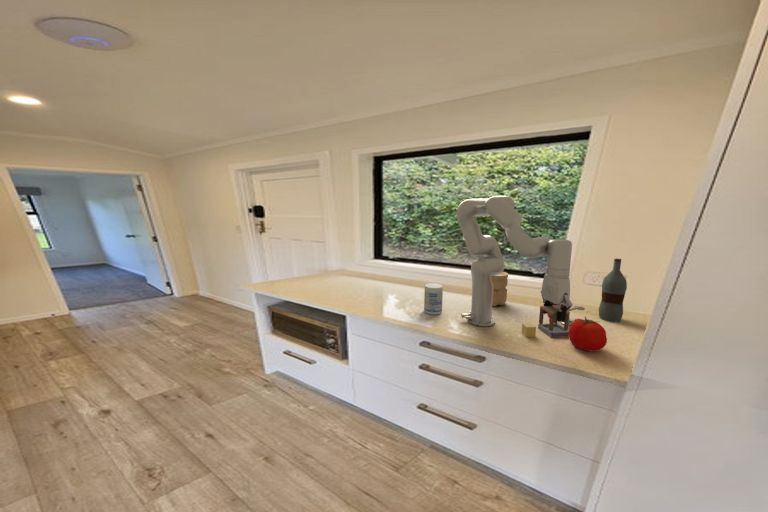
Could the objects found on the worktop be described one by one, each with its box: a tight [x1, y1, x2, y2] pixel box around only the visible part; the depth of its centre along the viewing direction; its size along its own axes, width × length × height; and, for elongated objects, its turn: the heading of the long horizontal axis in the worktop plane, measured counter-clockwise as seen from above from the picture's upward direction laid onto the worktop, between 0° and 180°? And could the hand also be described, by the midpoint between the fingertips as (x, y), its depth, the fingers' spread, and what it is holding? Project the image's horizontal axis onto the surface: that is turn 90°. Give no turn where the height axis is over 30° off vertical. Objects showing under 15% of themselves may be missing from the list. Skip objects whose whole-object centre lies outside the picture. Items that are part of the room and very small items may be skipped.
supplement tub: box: [423, 282, 444, 316], centre depth 148 cm, size 10×10×15 cm
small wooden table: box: [538, 305, 571, 331], centre depth 108 cm, size 7×7×7 cm
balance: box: [560, 305, 585, 327], centre depth 131 cm, size 16×4×8 cm, turn 95°
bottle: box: [598, 258, 628, 323], centre depth 134 cm, size 9×9×30 cm
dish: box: [537, 322, 569, 338], centre depth 124 cm, size 9×9×2 cm
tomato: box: [568, 316, 608, 352], centre depth 109 cm, size 12×13×12 cm
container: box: [491, 271, 509, 307], centre depth 159 cm, size 13×13×18 cm
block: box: [521, 322, 537, 338], centre depth 122 cm, size 4×4×4 cm
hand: (553, 316), depth 108 cm, fingers closed on small wooden table, 7 cm apart
